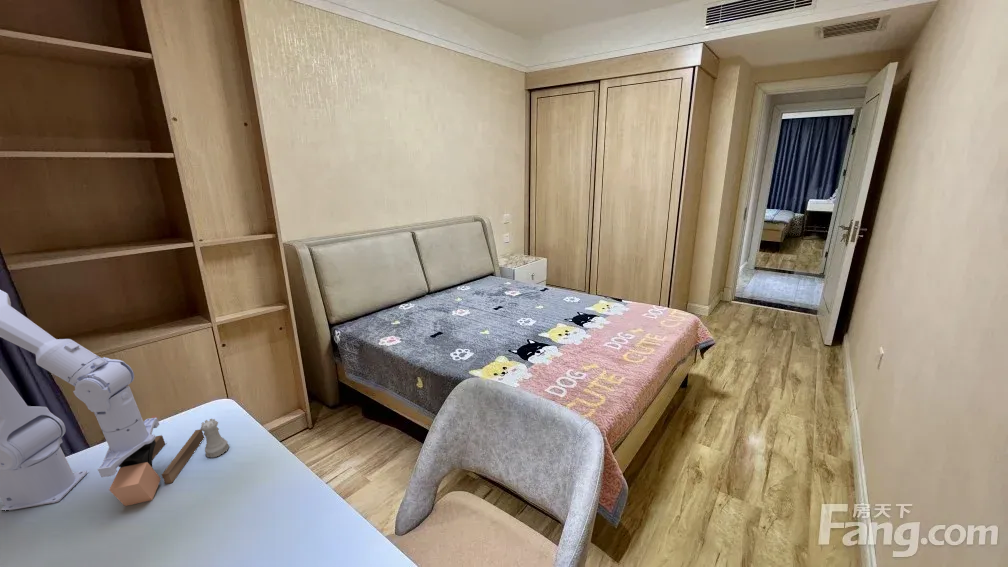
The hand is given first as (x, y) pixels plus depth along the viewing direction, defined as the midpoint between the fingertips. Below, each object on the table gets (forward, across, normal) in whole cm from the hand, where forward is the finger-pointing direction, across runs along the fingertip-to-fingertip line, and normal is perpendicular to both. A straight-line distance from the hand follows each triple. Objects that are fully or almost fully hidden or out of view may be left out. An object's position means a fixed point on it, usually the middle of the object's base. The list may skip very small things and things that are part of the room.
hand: (145, 477), depth 82 cm
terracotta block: (+1, -3, -1) cm, 3 cm away
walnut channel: (+2, +6, 0) cm, 7 cm away
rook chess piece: (+2, +7, -10) cm, 13 cm away
